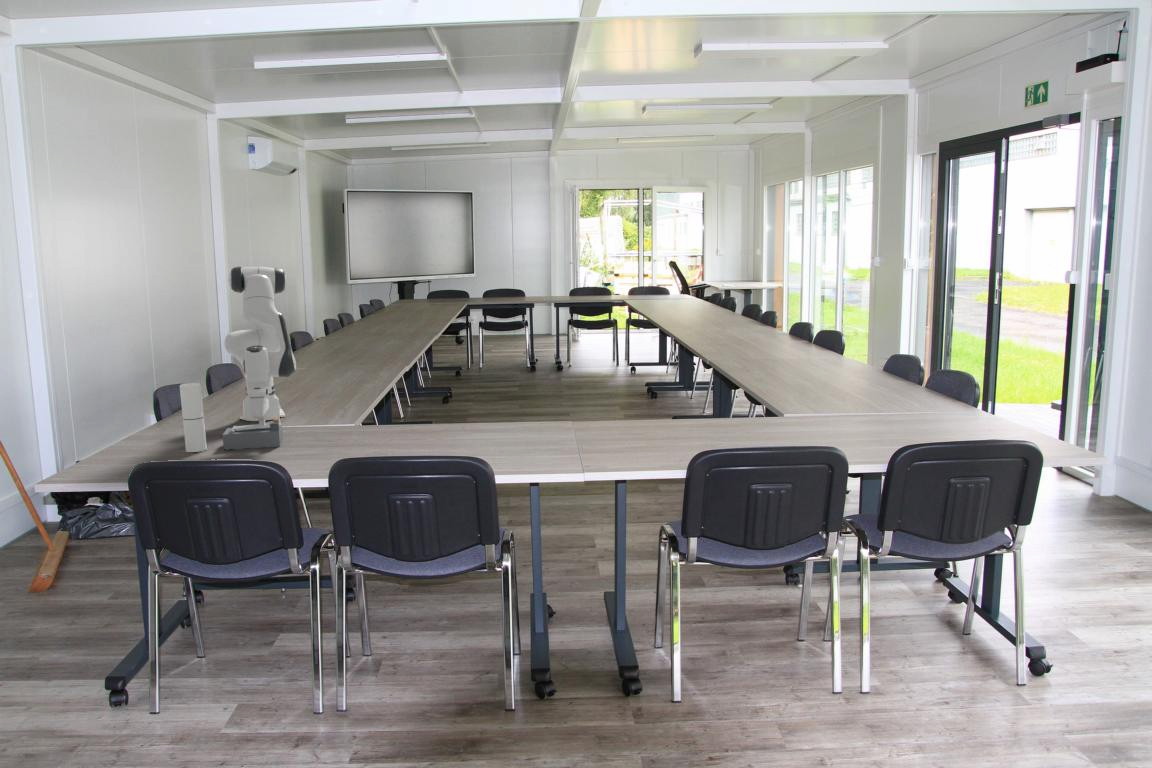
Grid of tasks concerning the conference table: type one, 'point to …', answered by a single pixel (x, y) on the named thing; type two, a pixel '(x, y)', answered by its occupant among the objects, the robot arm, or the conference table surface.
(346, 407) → the conference table surface
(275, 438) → the clamp block
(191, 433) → the cylindrical container
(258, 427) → the lever
